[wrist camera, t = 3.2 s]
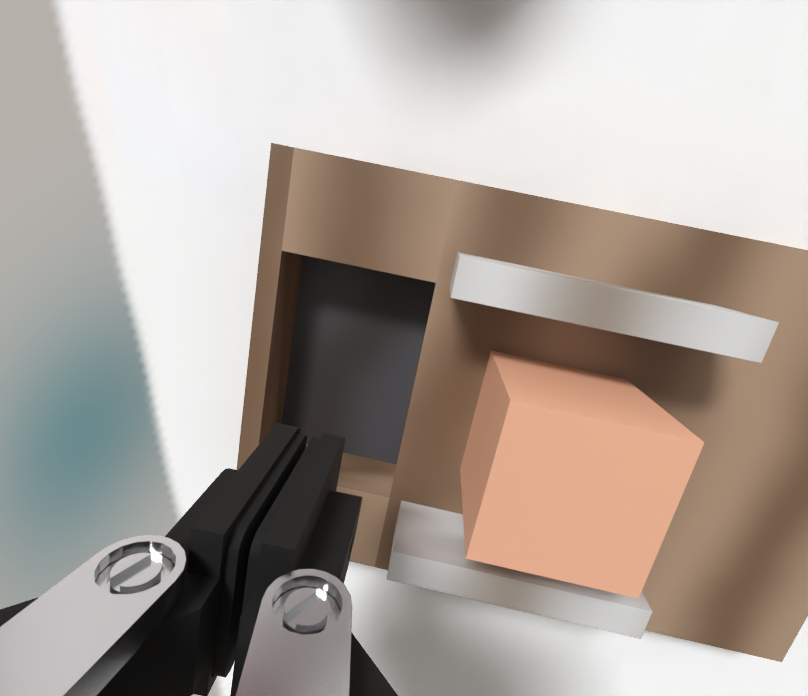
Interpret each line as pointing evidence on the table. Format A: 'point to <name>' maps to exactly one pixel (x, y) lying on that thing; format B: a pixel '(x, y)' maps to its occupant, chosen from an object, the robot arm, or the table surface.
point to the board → (549, 342)
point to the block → (571, 474)
